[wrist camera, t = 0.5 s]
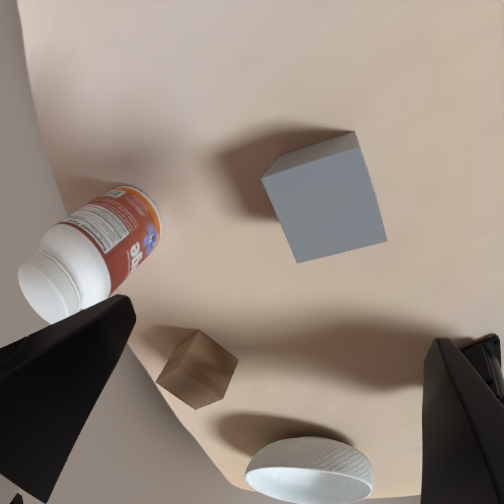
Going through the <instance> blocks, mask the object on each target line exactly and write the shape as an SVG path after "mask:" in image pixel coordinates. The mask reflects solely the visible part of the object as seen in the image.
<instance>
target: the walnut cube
mask: <svg viewBox="0 0 504 504" xmlns="http://www.w3.org/2000/svg"><path fill="white" fill-rule="evenodd" d="M237 363H238V359H237V358H236V357H234V356H233V355H232V354H230V353H229V352H228V351H226V350H225V349H224V348H222V347H221V346H220V345H219V344H217V343H216V342H215V341H213V340H212V339H211V338H210V337H208V336H207V335H206V334H205V333H203V332H202V331H201V330H199V331H197V332H196V333H195V334H193V335H192V336H191V337H189V338H188V339H187V340H186V341H184V342H183V343H182V344H180V345H179V346H178V347H176V348H175V350H174V352H173V353H172V355H171V357H170V358H169V360H168V362H167V364H166V365H165V367H164V369H163V370H162V372H161V374H160V375H159V377H158V379H157V380H156V383H158V384H159V385H160V386H162V387H163V388H164V389H166V390H167V391H169V392H170V393H171V394H173V395H174V396H176V397H177V398H179V399H180V400H182V401H183V402H184V403H186V404H187V405H189V406H190V407H192V408H193V409H195V410H196V409H199V408H201V407H204V406H206V405H209V404H211V403H214V402H216V401H219V400H221V399H223V397H224V395H225V393H226V390H227V388H228V385H229V383H230V380H231V378H232V375H233V373H234V370H235V368H236V365H237Z"/></svg>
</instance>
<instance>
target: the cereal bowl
mask: <svg viewBox="0 0 504 504" xmlns="http://www.w3.org/2000/svg"><path fill="white" fill-rule="evenodd" d="M245 480H246V482H247V483H248V484H249V485H250V486H251V487H252V488H254V489H255V490H257V491H259V492H261V493H263V494H265V495H268V496H270V497H273V498H276V499H280V500H283V501H287V502H293V503H298V504H347V503H352V502H356V501H359V500H362V499H364V498H366V497H368V496H369V495H370V494H371V493H372V491H373V488H374V472H373V467H372V465H371V463H370V461H369V460H368V458H367V457H366V456H365V455H364V454H363V453H362V452H360V451H359V450H357V449H355V448H354V447H352V446H350V445H347V444H345V443H342V442H338V441H336V440H333V439H330V438H326V437H318V436H304V437H299V438H289V439H283V440H278V441H276V442H272V443H271V444H268V445H267V446H265V447H263V448H262V449H260V450H259V451H258V452H257V453H256V454H255V455H254V457H253V458H252V459H251V461H250V463H249V465H248V467H247V470H246V472H245Z"/></svg>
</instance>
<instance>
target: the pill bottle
mask: <svg viewBox="0 0 504 504" xmlns="http://www.w3.org/2000/svg"><path fill="white" fill-rule="evenodd" d="M161 235H162V221H161V217H160V214H159V211H158V209H157V207H156V205H155V204H154V202H153V201H152V200H151V199H150V198H149V197H148V196H147V195H146V194H145V193H143V192H142V191H140V190H138V189H136V188H134V187H130V186H119V187H116V188H113V189H111V190H109V191H108V192H106V193H104V194H102V195H101V196H99V197H98V198H96V199H94V200H93V201H91V202H89V203H88V204H86V205H85V206H83V207H81V208H80V209H78V210H77V211H75V212H74V213H72V214H71V215H69V216H68V217H66V218H65V219H63V220H62V221H60V222H59V223H57V224H56V225H54V226H53V227H51V228H50V229H49V230H47V231H46V232H45V234H44V235H43V236H42V238H41V240H40V243H39V248H38V253H36V254H33V255H31V256H30V257H29V258H28V259H27V260H26V261H25V262H24V263H22V264H21V265H20V267H19V269H18V281H19V284H20V287H21V290H22V292H23V294H24V296H25V298H26V299H27V301H28V302H29V304H30V305H31V306H32V308H33V309H34V310H35V311H36V312H37V313H38V314H39V315H40V316H41V317H42V318H43V319H44V320H46V321H47V322H49V323H50V324H54V323H56V322H58V321H60V320H62V319H65V318H67V317H69V316H71V315H73V314H75V313H77V312H79V310H80V309H86V308H88V307H90V306H93V305H95V304H97V303H99V302H101V301H103V300H106V299H107V298H108V297H109V296H110V295H111V294H112V293H113V292H114V291H115V290H116V289H117V288H118V286H119V285H120V284H121V283H122V282H123V281H124V280H125V279H126V278H127V277H128V276H129V275H130V274H131V273H132V272H133V271H134V270H135V269H136V268H137V267H138V265H139V264H140V263H141V262H142V261H143V260H144V259H145V258H146V257H147V256H148V255H149V254H150V253H151V252H152V251H153V250H154V249H155V248H156V247H157V245H158V244H159V242H160V239H161Z"/></svg>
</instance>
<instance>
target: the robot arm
mask: <svg viewBox="0 0 504 504" xmlns="http://www.w3.org/2000/svg"><path fill="white" fill-rule="evenodd" d="M135 323H136V314H135V311H134V308H133V305H132V302H131V299H130V298H129V297H128V296H125V295H121V294H117V295H114V296H112V297H110V298H108V299H106V300H103V301H101V302H99V303H97V304H95V305H93V306H90V307H88V308H86V309H84V310H82V311H80V312H77V313H75V314H73V315H71V316H69V317H67V318H65V319H62V320H60V321H58V322H56V323H54V324H52V325H50V326H48V327H46V328H43V329H41V330H39V331H37V332H35V333H33V334H31V335H29V336H28V337H27V336H26V337H24V338H22V339H20V340H18V341H16V342H13V343H11V344H9V345H7V346H5V347H2V348H0V504H23V500H22V496H21V495H20V494H19V493H18V491H19V489H20V488H21V489H23V490H24V491H25V492H27V493H29V494H30V495H32V496H33V497H35V498H36V499H38V500H40V501H41V502H43V503H45V504H46V503H47V502H48V500H49V498H50V495H51V493H52V491H53V489H54V486H55V484H56V482H57V480H58V478H59V476H60V474H61V471H62V469H63V467H64V465H65V463H66V461H67V458H68V456H69V454H70V452H71V450H72V448H73V446H74V444H75V442H76V440H77V438H78V436H79V434H80V432H81V430H82V428H83V426H84V424H85V422H86V420H87V419H88V416H89V414H90V412H91V411H92V409H93V407H94V405H95V403H96V401H97V399H98V398H99V396H100V394H101V392H102V390H103V388H104V386H105V385H106V383H107V381H108V379H109V377H110V375H111V374H112V372H113V370H114V368H115V367H116V365H117V363H118V361H119V358H120V357H121V354H122V352H123V350H124V348H125V345H126V343H127V341H128V338H129V336H130V334H131V332H132V330H133V327H134V325H135ZM422 442H423V456H422V488H421V503H420V504H504V378H503V375H502V371H501V350H500V339H499V337H498V336H497V335H495V336H493V337H490V338H488V339H486V340H483V341H481V342H479V343H476V344H474V345H472V346H469V347H467V348H464V349H462V350H459V349H458V348H457V347H456V346H455V345H454V343H453V342H452V341H451V340H450V339H449V338H444V337H436V338H435V339H434V340H433V342H432V344H431V346H430V349H429V351H428V353H427V356H426V358H425V362H424V384H423V404H422Z"/></svg>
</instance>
